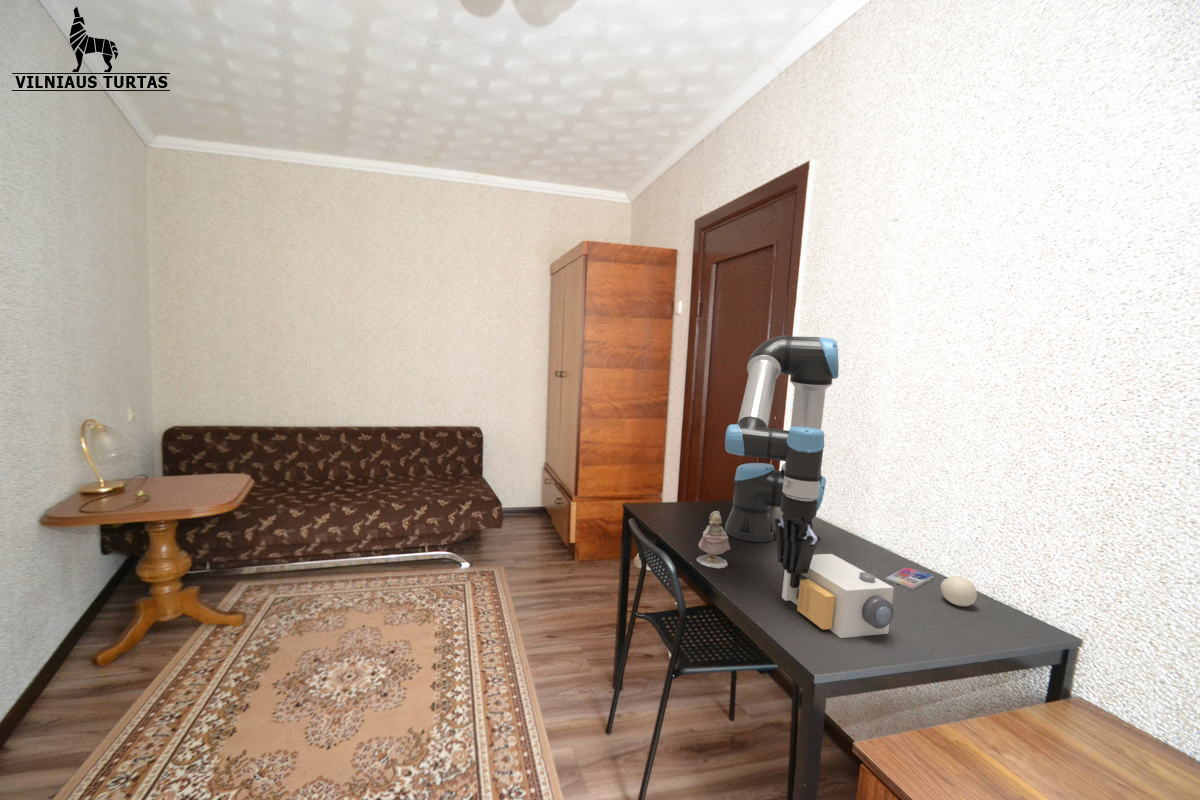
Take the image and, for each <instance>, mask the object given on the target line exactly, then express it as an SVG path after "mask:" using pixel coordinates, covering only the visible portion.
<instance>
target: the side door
mask: <svg viewBox="0 0 1200 800" xmlns="http://www.w3.org/2000/svg"><path fill="white" fill-rule="evenodd" d="M834 602H835V596H834V595H833V594H831V593H830V592H828V591H826V590H825V589H823V588H822V587H820V586H819V585H817V584H816V583H814V582H813V581H811V580H810V579H803V580H800V589H799V599H798V606H797V608H796V609H797V612H799V613H801V615H803V616H804V617H806V618H807V619H808V620H809V621H811V622H812V623H813V624H815V625H816V626H817V627H818V628H819V629H821V630H829V629H832V620H833V611H834Z"/></svg>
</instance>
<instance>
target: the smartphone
mask: <svg viewBox="0 0 1200 800" xmlns="http://www.w3.org/2000/svg"><path fill="white" fill-rule="evenodd" d="M934 578H935V577H934V575H932V574H929V573H926V572H924V571H921V570H917V569H914V568H910V567H904V568H902V569H900V570H897V571H896V572H894V573H892V574H890V575H887V576H885V578H884V580H885V581H887V582H890V583H892V584H895V585H899V586H901V587H904V588H906V589H908V590H916V589H918V588H920V587H921V586H923V585H925V584H927V583H929V582H930V581H932V580H934Z"/></svg>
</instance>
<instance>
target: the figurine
mask: <svg viewBox="0 0 1200 800" xmlns="http://www.w3.org/2000/svg"><path fill="white" fill-rule="evenodd" d="M708 523H709V524H708V525H707V526H706V528H705V530H704V531H702V537H701V538H700V540H699V542H698V547H699V550H701V551H702V552H704V553H707V554H704V555H699V556H698V557H697V558H696V562H698V563H699V564H700V565H701V566H702V565H703V566H706V567H708V568H713V569H722V568H726V567H728V564H729V563H728V561H727V560H726V559H724V558H722V557H720V556H717V555H721V554H724V553H725V552H726V551H730V550H731V547H730V546H731V545H730V543H729V535H728V534H727V533H726V532H725V529H724V527H723V526H722V525H721V524H723V521H722V516H721V513H720V511H719V510H714V511H712V512H711V513H710V515H709V521H708ZM689 563H690V564H692V562H689ZM725 566H726V567H725Z"/></svg>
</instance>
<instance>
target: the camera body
mask: <svg viewBox="0 0 1200 800" xmlns="http://www.w3.org/2000/svg"><path fill="white" fill-rule="evenodd" d="M803 579H810V580H811V581H813V582H814V583H816V584H817V585H819V586H820V587H822V588H823V589H825V590H826V591H828V592H830V593H831V594H833V595H834V596H835V602H834V611H833V620H832V629H828V630H829V631H831V632H832V633H833V634H835V635H836V636H837V637H839V638H840V639H846V638H847V639H848V638H856V637H857V638H858V637H866V636H878V635H879V636H880V635H886V634H887V635H888V634H889V631H890V623H891V622H892V620H893V617H894V606H893V597H894V589H895V588H894V586H892V585H890V584H888V583H887V582H884V581H883V580H881V579H879V578H877V577H876V576H875V574H872V573H869V572H866V571H864V570H863V569H860V568H859V567H858V566H855V565H853V564H851V563H850V562H847V561H846V560H844V559H842V558H840V557H838V556H837V555H834V554H833V553H820V554H818V553H817V554H813V557H812V561H811V564H810V567H809V570H808V573H807V574H800V580H803ZM800 580H799V587H798V588H797V596H796V600H790V601H791V602H792V603H793V604H795V606H797V607H798V599H799V589H800Z"/></svg>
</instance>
